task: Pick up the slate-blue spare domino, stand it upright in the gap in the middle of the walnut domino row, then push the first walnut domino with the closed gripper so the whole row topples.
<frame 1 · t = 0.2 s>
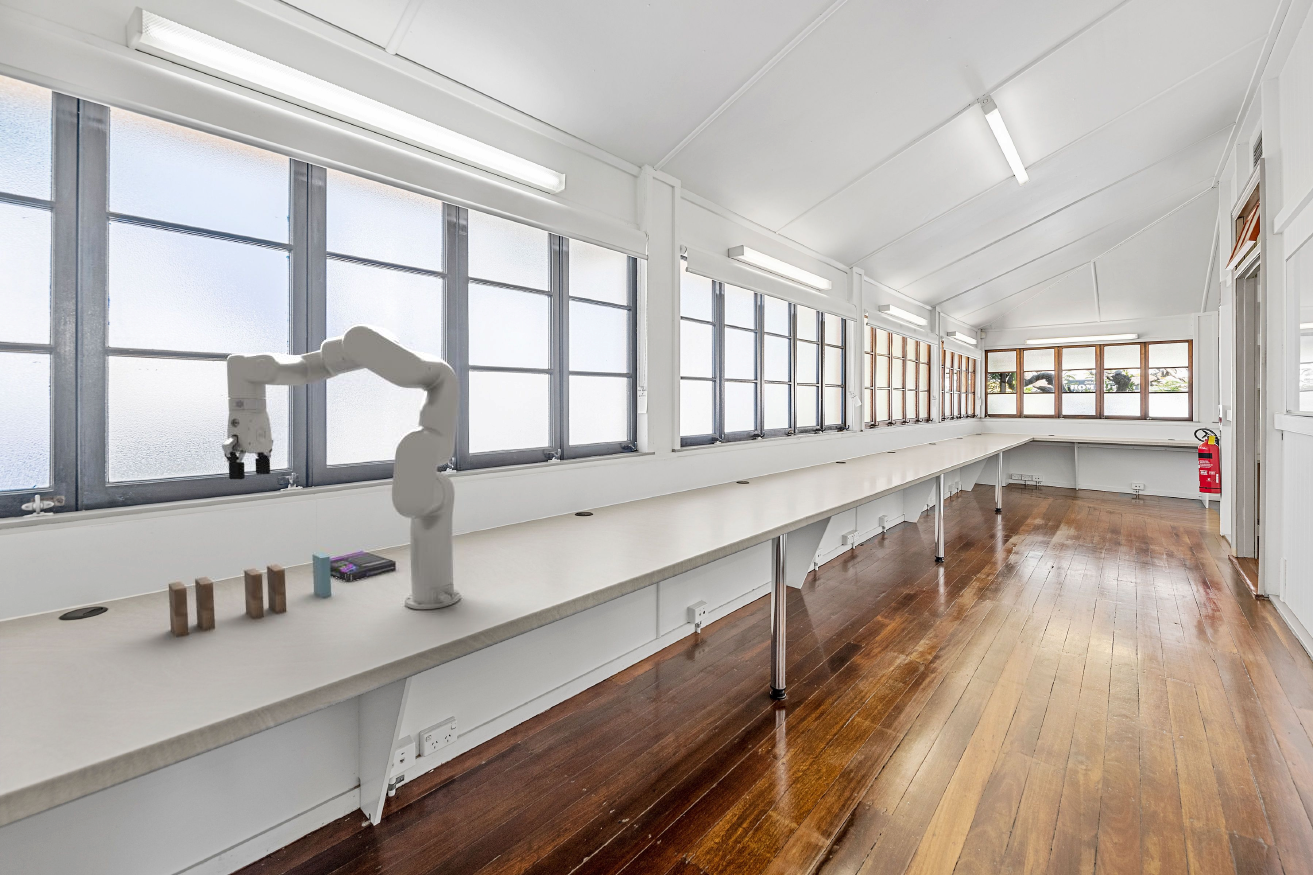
hand: (250, 476, 142), 30 cm above the counter, tool pointing down, fingers open, 9 cm apart
domino 1: (277, 609, 137), on the counter
spare domino: (322, 594, 148), on the counter
domino 4: (206, 625, 127), on the counter
box: (355, 572, 169), on the counter
domino 2: (254, 614, 133), on the counter
domino 5: (179, 631, 123), on the counter
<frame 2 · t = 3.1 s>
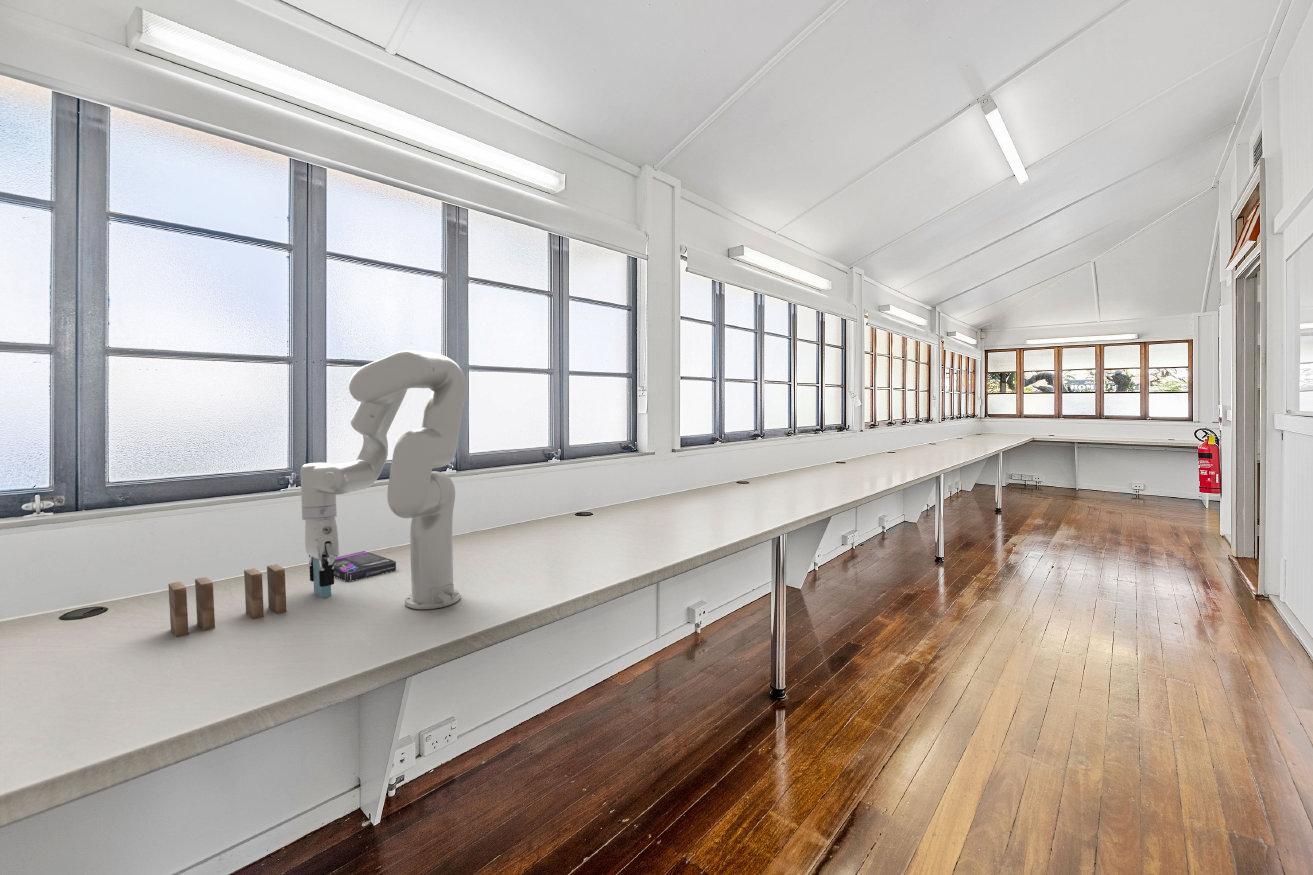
hand: (322, 582, 147), 3 cm above the counter, tool pointing down, fingers closed on spare domino, 5 cm apart
spare domino: (322, 594, 148), on the counter, touching gripper
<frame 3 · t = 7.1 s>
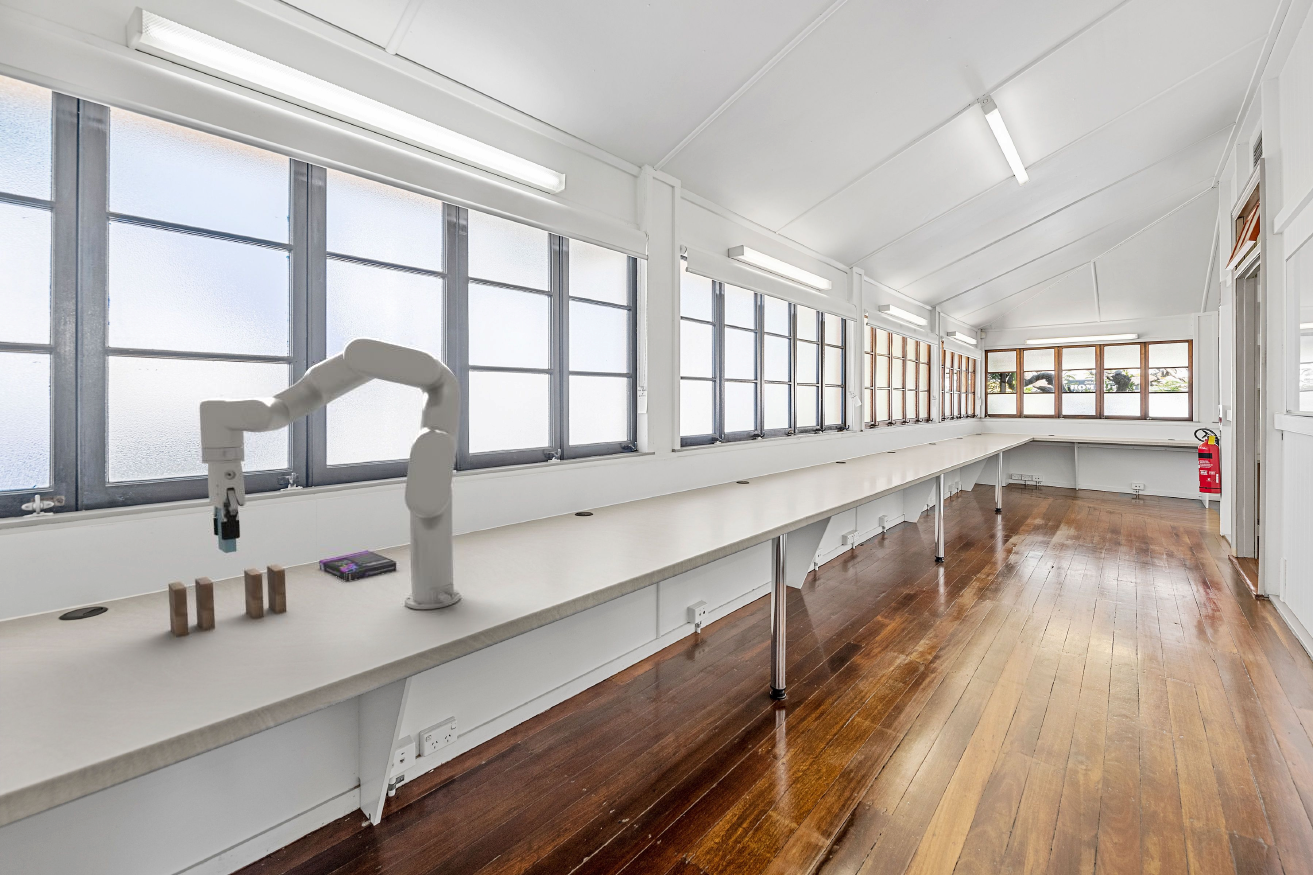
hand: (226, 535, 129), 19 cm above the counter, tool pointing down, fingers closed on spare domino, 5 cm apart
spare domino: (227, 549, 129), point 16 cm above the counter, touching gripper
when the fingers open (4 cm above the counter, at t = 10.9 s): spare domino stays where it is, on the counter.
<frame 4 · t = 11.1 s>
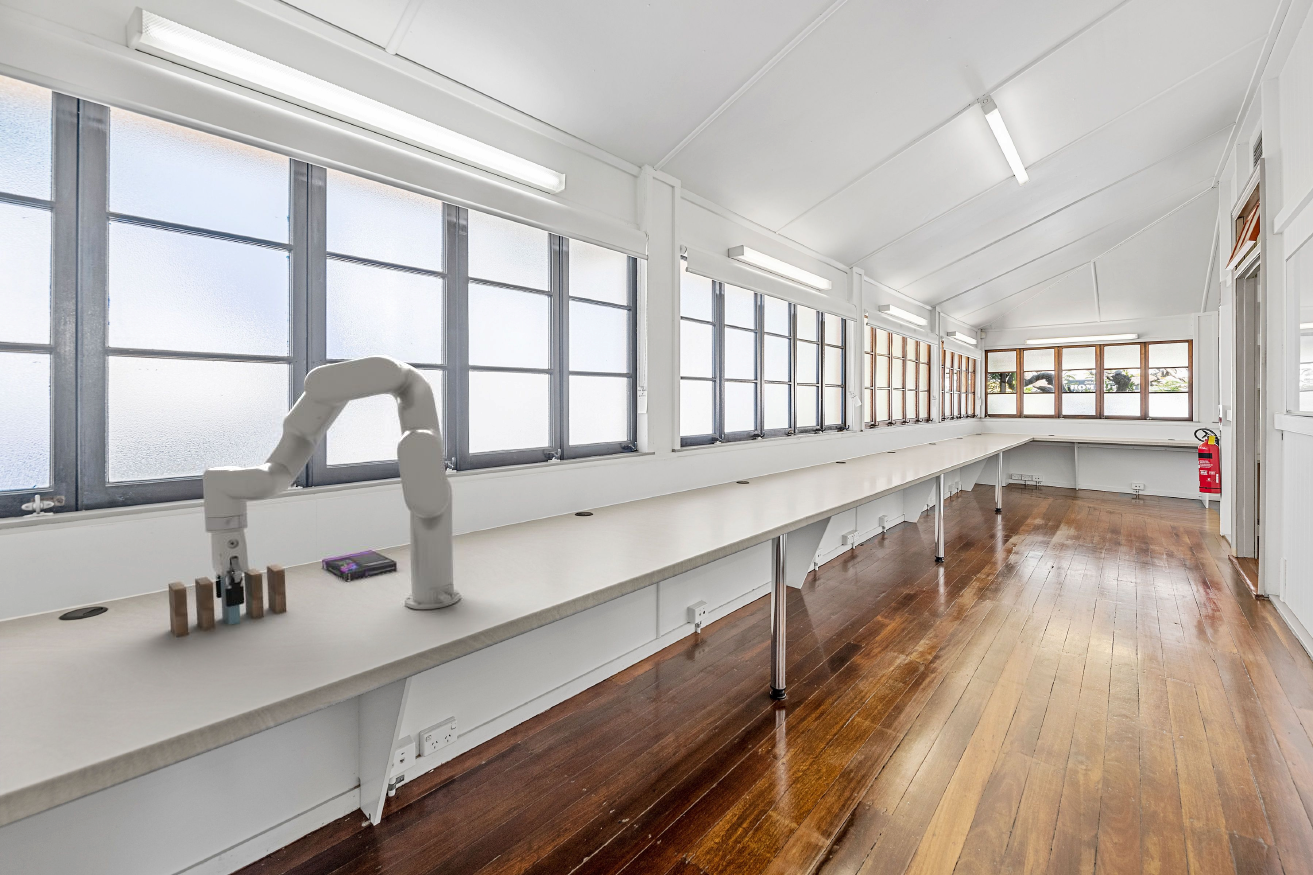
hand: (230, 600, 130), 4 cm above the counter, tool pointing down, fingers open, 8 cm apart
spare domino: (231, 620, 130), on the counter
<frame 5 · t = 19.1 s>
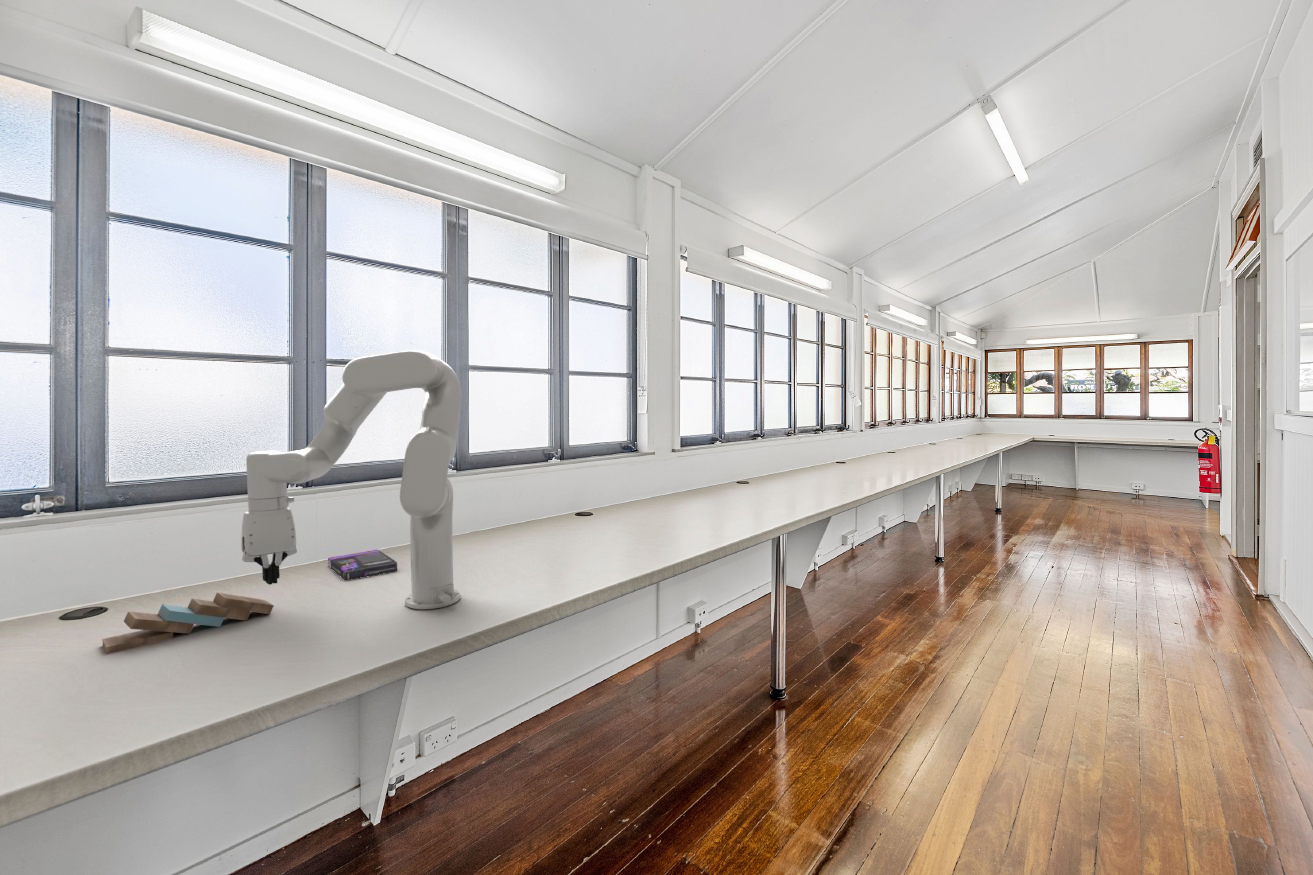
hand: (271, 582, 136), 7 cm above the counter, tool pointing down, fingers closed
domino 1: (267, 606, 135), point 1 cm above the counter, tilted 66°, touching domino 2
spare domino: (217, 618, 128), point 1 cm above the counter, tilted 66°, touching domino 2, domino 4
domino 4: (187, 624, 124), point 1 cm above the counter, tilted 67°, touching domino 5, spare domino
domino 2: (244, 612, 132), point 1 cm above the counter, tilted 66°, touching domino 1, spare domino
domino 5: (170, 632, 122), on the counter, tilted 90°, touching domino 4
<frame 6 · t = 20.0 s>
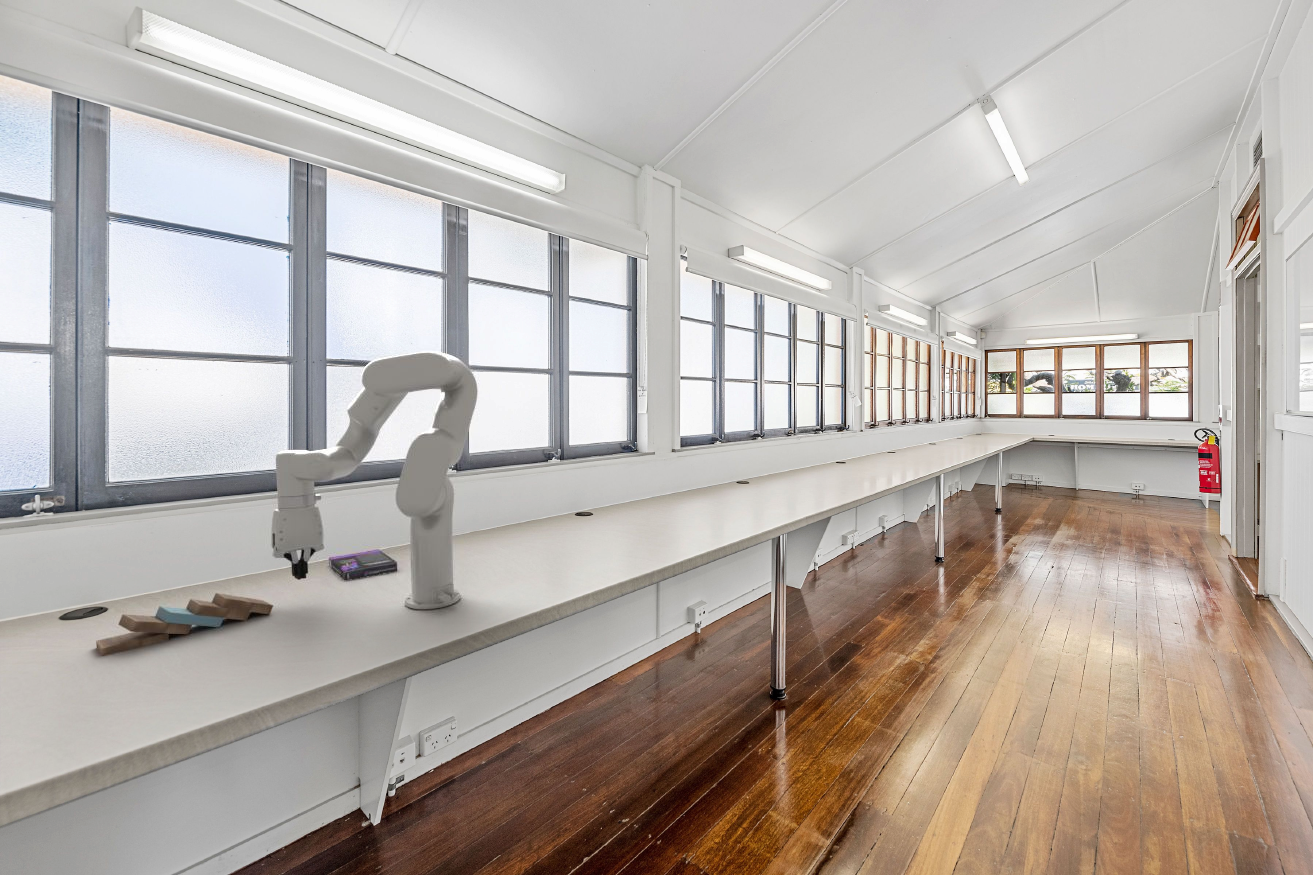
hand: (300, 577, 140), 6 cm above the counter, tool pointing down, fingers closed
spare domino: (216, 619, 128), point 1 cm above the counter, tilted 66°, touching domino 2
domino 4: (183, 625, 123), point 1 cm above the counter, tilted 68°, touching domino 5
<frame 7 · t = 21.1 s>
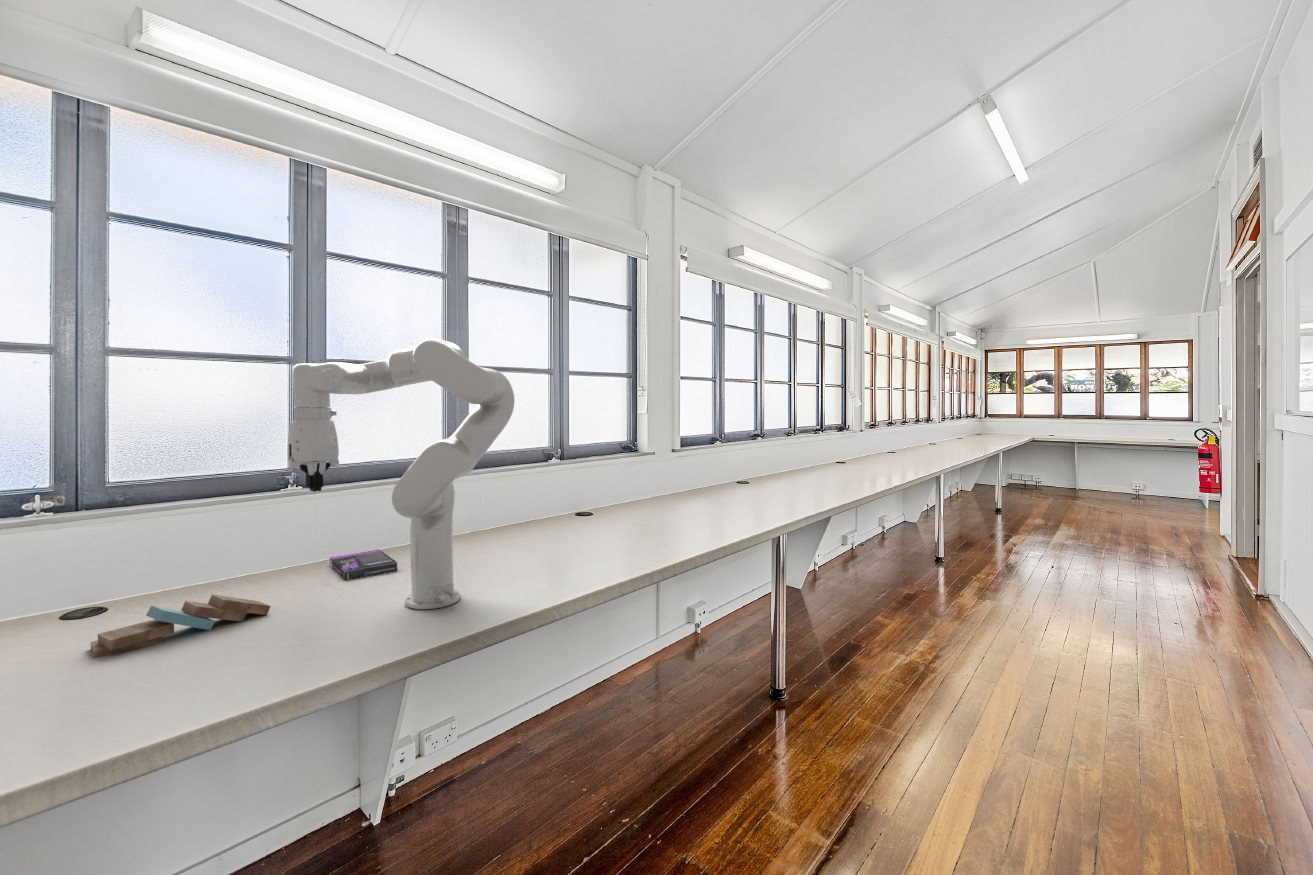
hand: (315, 490, 142), 27 cm above the counter, tool pointing down, fingers closed
domino 1: (262, 607, 135), point 1 cm above the counter, tilted 66°, touching domino 2
spare domino: (206, 622, 126), point 1 cm above the counter, tilted 60°, touching domino 4
domino 4: (167, 625, 121), point 2 cm above the counter, tilted 90°, touching domino 5, spare domino
domino 2: (239, 614, 131), point 1 cm above the counter, tilted 66°, touching domino 1
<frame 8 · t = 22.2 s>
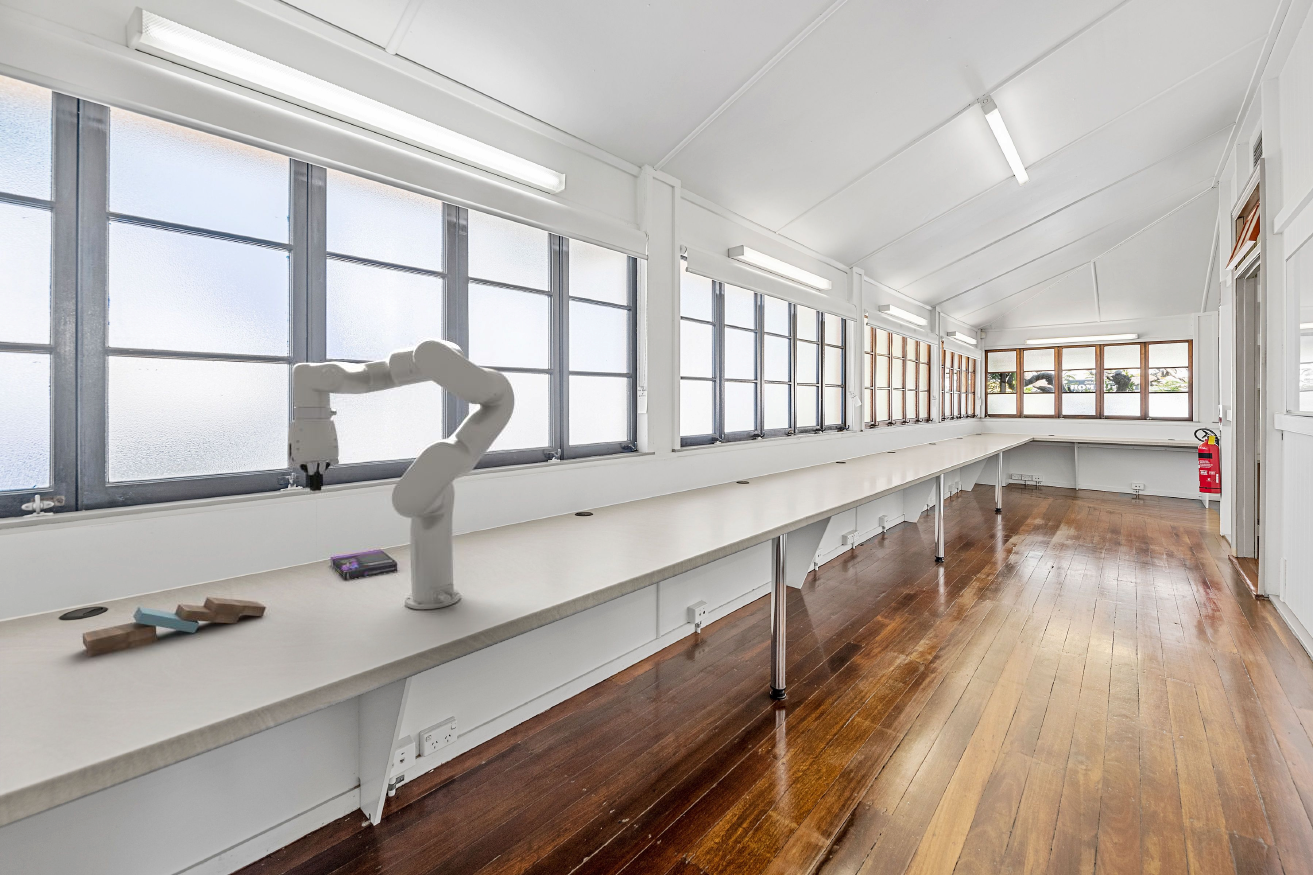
hand: (315, 490, 142), 27 cm above the counter, tool pointing down, fingers closed
domino 1: (259, 608, 134), point 1 cm above the counter, tilted 69°, touching domino 2
spare domino: (194, 624, 125), point 1 cm above the counter, tilted 62°, touching domino 4
domino 4: (152, 626, 120), point 2 cm above the counter, tilted 90°, touching domino 5, spare domino
at the end: domino 5 tilted 89°; spare domino inside the target area (3.9 cm from its centre), point 1.0 cm above the counter; spare domino tilted 66° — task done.
